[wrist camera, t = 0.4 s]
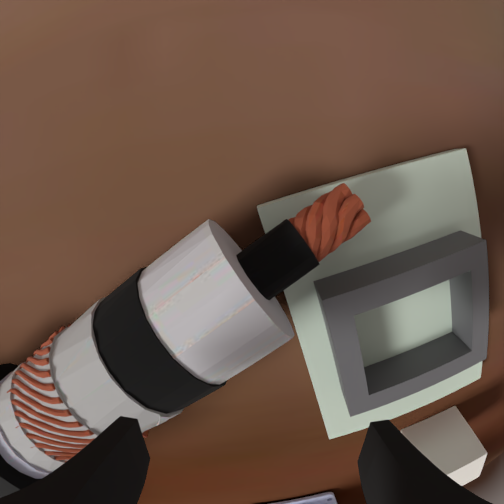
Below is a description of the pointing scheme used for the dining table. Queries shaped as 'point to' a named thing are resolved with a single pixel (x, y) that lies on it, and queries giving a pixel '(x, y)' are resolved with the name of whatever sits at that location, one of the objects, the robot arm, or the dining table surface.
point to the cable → (163, 337)
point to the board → (394, 293)
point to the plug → (449, 445)
